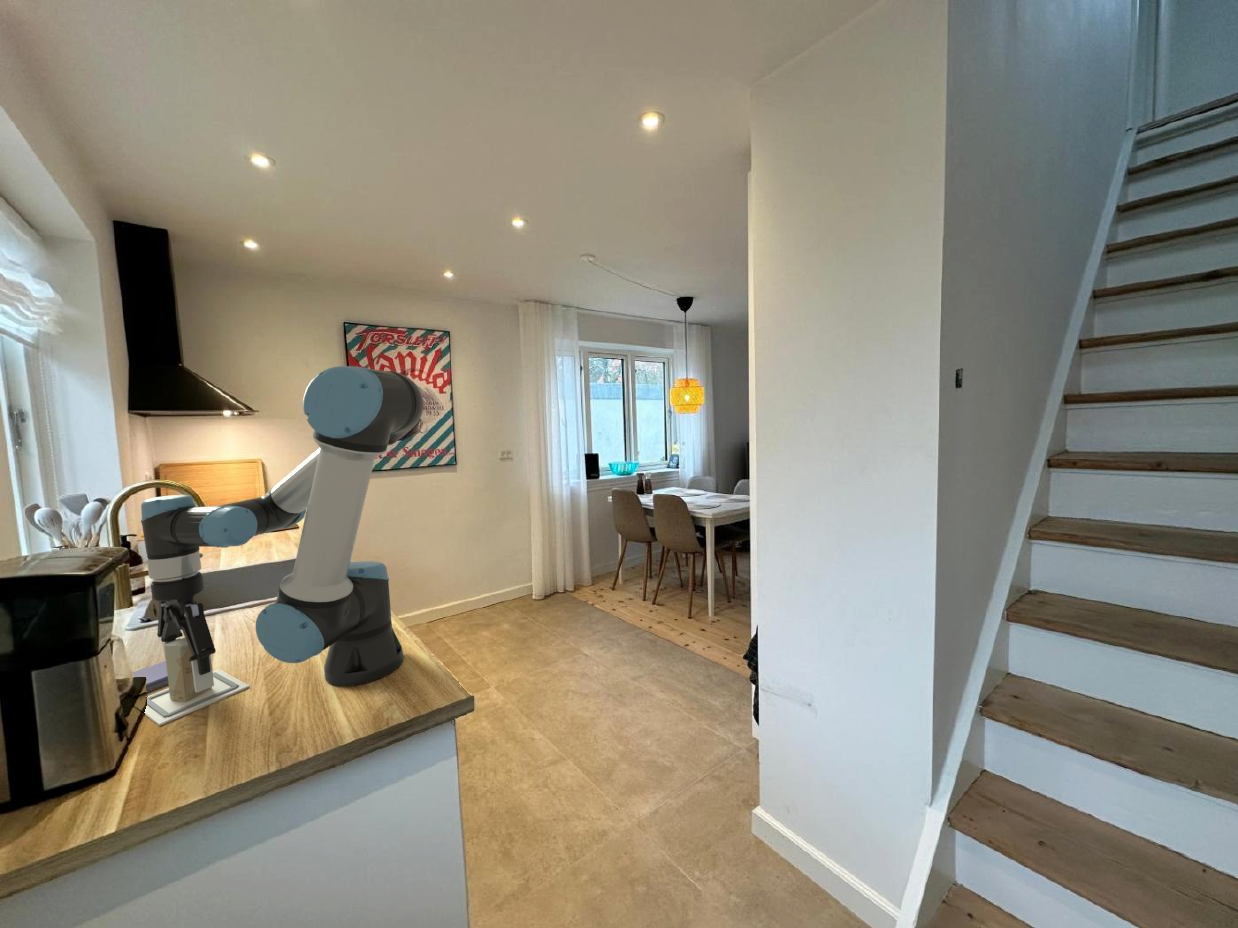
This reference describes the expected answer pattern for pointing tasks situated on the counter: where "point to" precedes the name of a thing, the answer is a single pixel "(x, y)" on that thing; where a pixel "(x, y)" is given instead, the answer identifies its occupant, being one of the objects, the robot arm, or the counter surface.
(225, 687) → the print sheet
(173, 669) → the box
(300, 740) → the counter surface
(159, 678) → the pad
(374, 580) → the robot arm
